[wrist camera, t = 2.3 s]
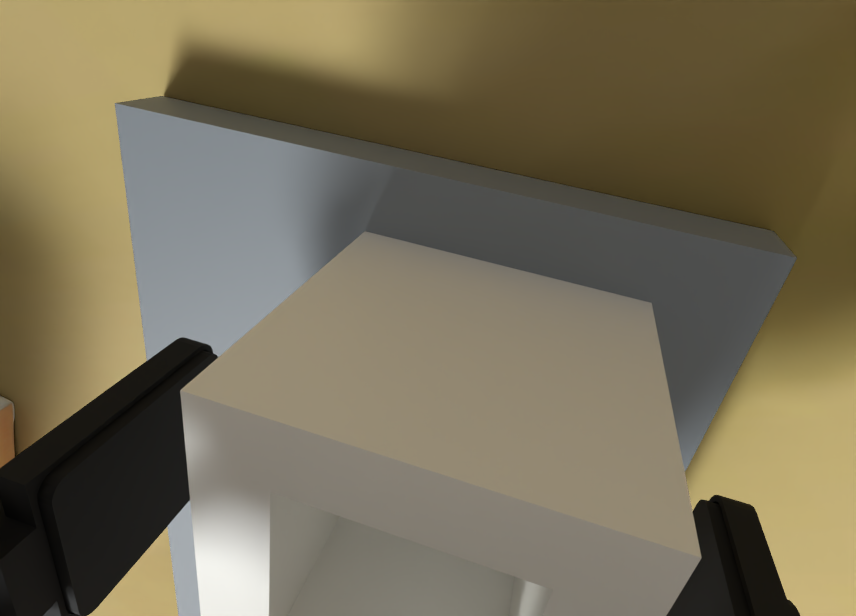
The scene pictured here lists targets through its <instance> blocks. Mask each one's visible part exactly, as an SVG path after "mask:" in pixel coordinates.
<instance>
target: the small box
mask: <svg viewBox="0 0 856 616" xmlns="http://www.w3.org/2000/svg"><path fill="white" fill-rule="evenodd" d="M14 419H15V415H14V404H13V402H12V401H10V400H8V399H6V398H4V397H2V396H0V468H1V467H2V466H4V465H5V464H6V463H8V462H9V461H10V460H12V459H13V458H15V451H14V429H13V427H14Z"/></svg>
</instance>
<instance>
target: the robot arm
mask: <svg viewBox="0 0 856 616" xmlns="http://www.w3.org/2000/svg"><path fill="white" fill-rule="evenodd" d="M217 358H218V356H217V355H216V354H213V349H212V348H211V346H210V345H208V344H205V343H201V342H198V341H195V340H191V339H188V338H185V337H182V338H179V339H177V340H175V341H174V342H172V343H171V344H170V345H168V346H167V347H165V348H164V349H163V350H161V351H160V352H159V353H157V354H156V355H154V356H153V357H152V358H150V359H149V360H148V361H146V362H145V363H143V364H142V365H141V366H139V367H138V368H137V369H135V370H134V371H132V372H131V373H130V374H128V375H127V376H126V377H124V378H123V379H121V380H120V381H119V382H117V383H116V384H115V385H113V386H112V387H111V388H109V389H108V390H106V391H105V392H104V393H102V394H101V395H100V396H98V397H97V398H95V399H94V400H93V401H91V402H90V403H89V404H87V405H86V406H84V407H83V408H82V409H80V410H79V411H78V412H76V413H75V414H73V415H72V416H71V417H69V418H68V419H67V420H65V421H64V422H63V423H61V424H60V425H58V426H57V427H56V428H54V429H53V430H52V431H50V432H49V433H47V434H46V435H45V436H43V437H42V438H41V439H39V440H38V441H36V442H35V443H34V444H32V445H31V446H30V447H28V448H27V449H25V450H24V451H23V452H21V453H20V454H19V455H17V456H16V457H15V458H13V459H12V460H10V461H9V462H8V463H6V464H5V465H4V466H2V467H1V468H0V616H87V615H89V614H90V613H92V612H93V611H94V610H95V609H96V608H97V607H98V606H99V605H100V603H101V602H102V601H103V600H104V599H105V598H106V596H107V595H108V594H109V593H110V592H111V591H112V590H113V588H114V587H115V586H116V585H117V584H118V583H119V581H120V580H121V579H122V578H123V577H124V576H125V574H126V573H127V572H128V571H129V570H130V569H131V568H132V566H133V565H134V564H135V563H136V562H137V561H138V559H139V558H140V557H141V556H142V555H143V554H144V553H145V551H146V550H147V549H148V548H149V547H150V546H151V544H152V543H153V542H154V541H155V540H156V539H157V538H158V536H159V535H160V534H161V533H162V532H163V531H164V529H165V528H166V527H167V526H168V525H169V524H170V523H171V521H172V520H173V519H174V518H175V517H176V516H177V514H178V513H179V512H180V511H181V510H182V509H183V507H184V506H185V505H186V504H187V503H188V502H189V501H190V493H189V482H188V471H187V460H186V449H185V438H184V427H183V416H182V405H181V394H180V390H181V389H182V388H183V387H185V386H186V385H187V384H188V383H189V382H190V381H192V380H193V379H194V378H195V377H196V376H197V375H199V374H200V373H201V372H202V371H203V370H204V369H206V368H207V367H208V366H209V365H210V364H211V363H212V362H214V361H215V360H216V359H217ZM693 517H694V522H695V527H696V532H697V537H698V542H699V547H700V552H701V557H702V558H701V560H700V561H699V563H698V565H697V566H696V568H695V570H694V571H693V573H692V574H691V576H690V578H689V579H688V581H687V583H686V584H685V586H684V588H683V589H682V591H681V593H680V594H679V596H678V597H677V599H676V601H675V602H674V604H673V606H672V607H671V609H670V611H669V612H668V614H667V615H666V616H800V614H799V612H798V610H797V608H796V607H795V605H794V604H793V603H792V602H791V601H790V600H787V598H786V596H785V593H784V590H783V587H782V584H781V581H780V578H779V576H778V573H777V570H776V567H775V564H774V561H773V558H772V556H771V553H770V550H769V547H768V544H767V541H766V538H765V536H764V533H763V530H762V527H761V524H760V521H759V519H758V516H757V513H756V511H755V509H754V507H753V506H751V505H750V504H746V503H743V502H739V501H736V500H733V499H729V498H726V497H722V496H719V495H714V496H713V497H711V499H710V500H709V501H706V500H700V501H699V502H698V503H697V505H696V507H695V509H694V510H693Z"/></svg>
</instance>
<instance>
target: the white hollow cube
mask: <svg viewBox="0 0 856 616" xmlns="http://www.w3.org/2000/svg"><path fill="white" fill-rule="evenodd" d="M180 394H181V405H182V416H183V427H184V438H185V449H186V460H187V471H188V482H189V493H190V504H191V515H192V526H193V537H194V548H195V559H196V570H197V581H198V592H199V603H200V614H201V616H666V615H667V614H668V612H669V611H670V609H671V607H672V606H673V604H674V602H675V601H676V599H677V597H678V596H679V594H680V593H681V591H682V589H683V588H684V586H685V584H686V583H687V581H688V579H689V578H690V576H691V574H692V573H693V571H694V570H695V568H696V566H697V565H698V563H699V561H700V560H701V558H702V557H701V552H700V547H699V542H698V537H697V532H696V527H695V522H694V517H693V511H692V506H691V501H690V496H689V491H688V486H687V481H686V476H685V471H684V466H683V460H682V455H681V450H680V445H679V440H678V435H677V430H676V425H675V420H674V415H673V409H672V404H671V399H670V394H669V389H668V384H667V379H666V374H665V369H664V364H663V358H662V353H661V348H660V343H659V338H658V333H657V328H656V323H655V318H654V313H653V307H652V303H650V302H646V301H642V300H638V299H634V298H630V297H626V296H622V295H618V294H614V293H610V292H606V291H602V290H598V289H594V288H590V287H586V286H582V285H578V284H574V283H570V282H566V281H562V280H558V279H554V278H550V277H546V276H542V275H538V274H534V273H530V272H526V271H522V270H518V269H514V268H510V267H506V266H502V265H498V264H494V263H490V262H486V261H482V260H478V259H474V258H470V257H466V256H462V255H458V254H454V253H450V252H446V251H442V250H438V249H434V248H430V247H426V246H422V245H418V244H414V243H410V242H406V241H402V240H398V239H394V238H390V237H386V236H382V235H378V234H374V233H370V232H366V231H365V232H363V233H362V234H361V235H360V236H359V237H358V238H356V239H355V240H354V241H353V242H352V243H351V244H349V245H348V246H347V247H346V248H345V249H344V250H342V251H341V252H340V253H339V254H338V255H337V256H336V257H334V258H333V259H332V260H331V261H330V262H329V263H327V264H326V265H325V266H324V267H323V268H322V269H320V270H319V271H318V272H317V273H316V274H315V275H313V276H312V277H311V278H310V279H309V280H308V281H307V282H305V283H304V284H303V285H302V286H301V287H300V288H298V289H297V290H296V291H295V292H294V293H293V294H291V295H290V296H289V297H288V298H287V299H286V300H284V301H283V302H282V303H281V304H280V305H279V306H277V307H276V308H275V309H274V310H273V311H272V312H271V313H269V314H268V315H267V316H266V317H265V318H264V319H262V320H261V321H260V322H259V323H258V324H257V325H255V326H254V327H253V328H252V329H251V330H250V331H248V332H247V333H246V334H245V335H244V336H243V337H242V338H240V339H239V340H238V341H237V342H236V343H235V344H233V345H232V346H231V347H230V348H229V349H228V350H226V351H225V352H224V353H223V354H222V355H221V356H219V357H218V358H217V359H216V360H215V361H214V362H212V363H211V364H210V365H209V366H208V367H207V368H206V369H204V370H203V371H202V372H201V373H200V374H199V375H197V376H196V377H195V378H194V379H193V380H192V381H190V382H189V383H188V384H187V385H186V386H185V387H183V388H182V389H181V390H180Z"/></svg>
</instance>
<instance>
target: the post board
mask: <svg viewBox="0 0 856 616" xmlns="http://www.w3.org/2000/svg"><path fill="white" fill-rule="evenodd" d="M115 108H116V116H117V124H118V132H119V140H120V148H121V156H122V164H123V172H124V181H125V189H126V197H127V205H128V213H129V221H130V229H131V237H132V245H133V253H134V261H135V269H136V277H137V285H138V293H139V301H140V309H141V317H142V325H143V333H144V341H145V349H146V358H147V361H148V360H149V359H150V358H152V357H153V356H154V355H156V354H157V353H159V352H160V351H161V350H163V349H164V348H165V347H167V346H168V345H170V344H171V343H172V342H174V341H175V340H177V339H179V338H182V337H185V338H188V339H191V340H195V341H198V342H201V343H205V344H208V345H210V346H211V348H212V349H213V354H216V355H217V356H218V357H219V356H221V355H222V354H223V353H224V352H225V351H226V350H228V349H229V348H230V347H231V346H232V345H233V344H235V343H236V342H237V341H238V340H239V339H240V338H242V337H243V336H244V335H245V334H246V333H247V332H248V331H250V330H251V329H252V328H253V327H254V326H255V325H257V324H258V323H259V322H260V321H261V320H262V319H264V318H265V317H266V316H267V315H268V314H269V313H271V312H272V311H273V310H274V309H275V308H276V307H277V306H279V305H280V304H281V303H282V302H283V301H284V300H286V299H287V298H288V297H289V296H290V295H291V294H293V293H294V292H295V291H296V290H297V289H298V288H300V287H301V286H302V285H303V284H304V283H305V282H307V281H308V280H309V279H310V278H311V277H312V276H313V275H315V274H316V273H317V272H318V271H319V270H320V269H322V268H323V267H324V266H325V265H326V264H327V263H329V262H330V261H331V260H332V259H333V258H334V257H336V256H337V255H338V254H339V253H340V252H341V251H342V250H344V249H345V248H346V247H347V246H348V245H349V244H351V243H352V242H353V241H354V240H355V239H356V238H358V237H359V236H360V235H361V234H362V233H363V232H365V231H366V232H370V233H374V234H378V235H382V236H386V237H390V238H394V239H398V240H402V241H406V242H410V243H414V244H418V245H422V246H426V247H430V248H434V249H438V250H442V251H446V252H450V253H454V254H458V255H462V256H466V257H470V258H474V259H478V260H482V261H486V262H490V263H494V264H498V265H502V266H506V267H510V268H514V269H518V270H522V271H526V272H530V273H534V274H538V275H542V276H546V277H550V278H554V279H558V280H562V281H566V282H570V283H574V284H578V285H582V286H586V287H590V288H594V289H598V290H602V291H606V292H610V293H614V294H618V295H622V296H626V297H630V298H634V299H638V300H642V301H646V302H650V303H652V307H653V313H654V318H655V323H656V328H657V333H658V338H659V343H660V348H661V353H662V358H663V364H664V369H665V374H666V379H667V384H668V389H669V394H670V399H671V404H672V409H673V415H674V420H675V425H676V430H677V435H678V440H679V445H680V450H681V455H682V460H683V466H684V471H686V469H687V467H688V465H689V463H690V461H691V460H692V458H693V456H694V454H695V452H696V450H697V448H698V446H699V444H700V442H701V440H702V439H703V437H704V435H705V433H706V431H707V429H708V427H709V425H710V423H711V421H712V419H713V418H714V416H715V414H716V412H717V410H718V408H719V406H720V404H721V402H722V400H723V398H724V397H725V395H726V393H727V391H728V389H729V387H730V385H731V383H732V381H733V379H734V378H735V376H736V374H737V372H738V370H739V368H740V366H741V364H742V362H743V360H744V358H745V357H746V355H747V353H748V351H749V349H750V347H751V345H752V343H753V341H754V339H755V337H756V336H757V334H758V332H759V330H760V328H761V326H762V324H763V322H764V320H765V318H766V316H767V315H768V313H769V311H770V309H771V307H772V305H773V303H774V301H775V299H776V297H777V296H778V294H779V292H780V290H781V288H782V286H783V284H784V282H785V280H786V278H787V276H788V275H789V273H790V271H791V269H792V267H793V265H794V263H795V261H796V259H797V257H796V256H795V255H794V254H793V253H792V252H791V250H790V249H789V248H788V247H787V246H786V245H785V244H784V242H783V241H782V240H781V239H780V238H779V237H778V236H777V234H776V233H775V232H774V231H771V230H766V229H762V228H757V227H753V226H748V225H744V224H739V223H735V222H730V221H726V220H721V219H717V218H712V217H708V216H703V215H698V214H694V213H689V212H685V211H680V210H676V209H671V208H667V207H662V206H658V205H653V204H649V203H644V202H640V201H635V200H631V199H626V198H621V197H617V196H612V195H608V194H603V193H599V192H594V191H590V190H585V189H581V188H576V187H572V186H567V185H563V184H558V183H554V182H549V181H544V180H540V179H535V178H531V177H526V176H522V175H517V174H513V173H508V172H504V171H499V170H495V169H490V168H486V167H481V166H476V165H472V164H467V163H463V162H458V161H454V160H449V159H445V158H440V157H436V156H431V155H427V154H422V153H418V152H413V151H409V150H404V149H399V148H395V147H390V146H386V145H381V144H377V143H372V142H368V141H363V140H359V139H354V138H350V137H345V136H341V135H336V134H332V133H327V132H322V131H318V130H313V129H309V128H304V127H300V126H295V125H291V124H286V123H282V122H277V121H273V120H268V119H264V118H259V117H254V116H250V115H245V114H241V113H236V112H232V111H227V110H223V109H218V108H214V107H209V106H205V105H200V104H196V103H191V102H187V101H182V100H177V99H173V98H168V97H164V96H159V97H153V98H146V99H139V100H133V101H126V102H120V103H115ZM168 535H169V543H170V551H171V559H172V567H173V575H174V583H175V591H176V599H177V607H178V615H179V616H201V614H200V603H199V592H198V581H197V570H196V559H195V548H194V537H193V526H192V515H191V504H190V501H189V502H188V503H187V504H186V505H185V506H184V507H183V509H182V510H181V511H180V512H179V513H178V514H177V516H176V517H175V518H174V519H173V520H172V521H171V523H170V524H169V525H168Z"/></svg>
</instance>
